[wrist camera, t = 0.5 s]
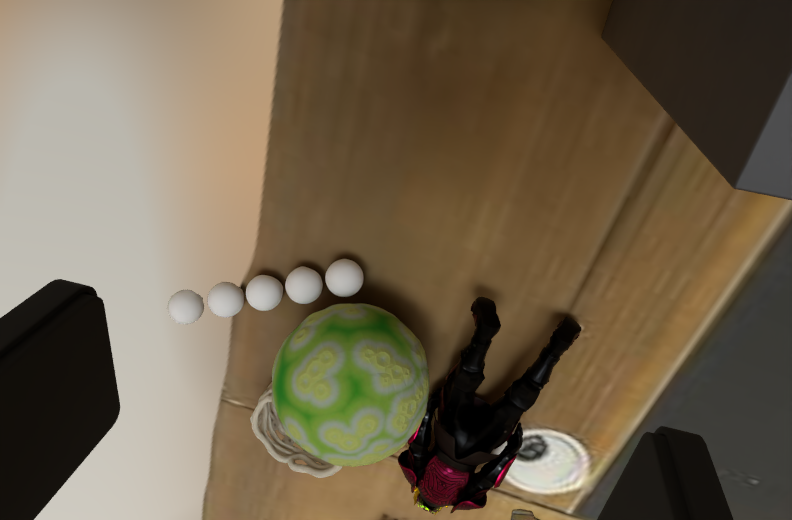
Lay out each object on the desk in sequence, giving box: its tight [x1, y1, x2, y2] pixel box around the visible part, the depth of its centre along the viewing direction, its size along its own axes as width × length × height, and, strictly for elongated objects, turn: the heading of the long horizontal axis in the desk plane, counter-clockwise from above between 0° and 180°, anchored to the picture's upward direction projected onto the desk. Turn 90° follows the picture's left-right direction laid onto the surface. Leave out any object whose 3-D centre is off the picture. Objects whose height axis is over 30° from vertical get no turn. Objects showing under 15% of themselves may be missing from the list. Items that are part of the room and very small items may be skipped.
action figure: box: [398, 297, 581, 514], centre depth 39 cm, size 15×6×20 cm
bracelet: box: [250, 383, 342, 478], centre depth 42 cm, size 4×8×8 cm
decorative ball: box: [272, 303, 429, 467], centre depth 35 cm, size 10×10×10 cm
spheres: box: [167, 259, 363, 324], centre depth 38 cm, size 15×2×2 cm
